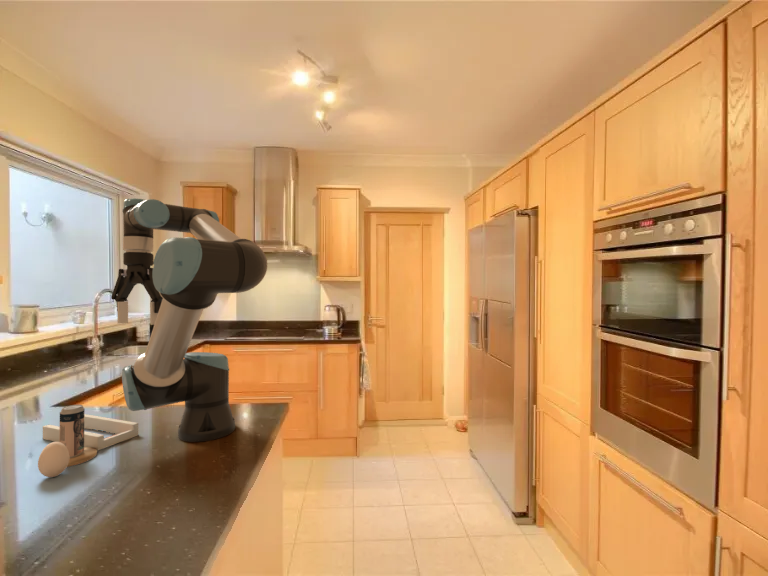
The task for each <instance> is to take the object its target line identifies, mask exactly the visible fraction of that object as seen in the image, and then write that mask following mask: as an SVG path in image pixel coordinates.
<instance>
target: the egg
mask: <svg viewBox="0 0 768 576" xmlns="http://www.w3.org/2000/svg"><path fill="white" fill-rule="evenodd" d="M69 459H70V456H69V451H68V449H67V447H66V446H65V445H64V444H63V443H61V442H55V441H52V442H50V443H48V444H47V445H45V446H44V448H43V449H42V451H41V452H40V454H39V457H38V460H37V467H38V471H39V473H40V474H41V475H42V476H43V477H47V478H55V477H57V476H59V475H60V474H61V475H62V473H63V472H64V471H65V470H66V469H67V468H68V467H67V465H68V463H69Z"/></svg>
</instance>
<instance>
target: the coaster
mask: <svg viewBox="0 0 768 576" xmlns="http://www.w3.org/2000/svg"><path fill="white" fill-rule="evenodd" d="M97 455H98V450H97V449H96V448H92V447H84V452H83V453H82V454H81V455H79V456H77V457H74V458H70V459H69V463H68V465H67V467H66V468H70V467H74V466H77V465H81V464H84V463H86V462H89V461H90V460H93V459H94V458H95V457H96V456H97Z"/></svg>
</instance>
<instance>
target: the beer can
mask: <svg viewBox="0 0 768 576" xmlns="http://www.w3.org/2000/svg"><path fill="white" fill-rule="evenodd" d="M85 410H86V409H85V407H84V406H83V405H82V404H72V405H67V406H64V407H62V408H61V410H60V412H59V427H60V436H59V442H61V443H63V444H64V445H65V446H66V447H67V449H68V451H69V456H70V458H74V457H77V456H79V455H81V454H82V453H83V452H84V431H85V428H84V414H85V412H86V411H85Z"/></svg>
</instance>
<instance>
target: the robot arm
mask: <svg viewBox="0 0 768 576" xmlns="http://www.w3.org/2000/svg"><path fill="white" fill-rule="evenodd" d="M122 215H123V219H122V221H123V237H122V242H123V243H122V246H123V247H122V250H123V251H125V252H123V256H122V257H123V258H122V259H123V261H122V262H123V265H124V266H126V268H119V269H118V276H117V279H116V282H115V285H114V287H113V291H112V294H111V298H110V299H111V300H113V301H115V302H116V311H117V324H119V325H121V324H129V300H128V298H129V296H130V295H131V293H132V291H133V289H134V287H135V286H136V285H139V284H140V285H142V286H143V287H144V289H145V290H146V293H147V294H148V296H149V297H150V299H151V300H150V303H149V305H150V306H149V308H150V310H149V311H150V313H149V315H150V316H149V317H150V319H149V320H150V321H149V322H150V324H149V325H150V326H153V328H152V330H151V334H150V338H149V341H148V343H147V346H146V350H145V352H144V353H142V354H140V356H138V357H137V358H136V360H135V362H134V364H130V365H127V366H124V367H122V371H121V383H122V389H123V395H124V400H125V403H126V407H127V408H128V410H130V411H131V412H137V411H143V410H144V411H147V410H150V409H154V408H158V407H159V408H160V407H163V406H168V405H172V404H173V405H174V404H178V403H182V402H184V410H183V413H182V417H181V421H180V424H179V425H178V427H177V428H178V429H177V438H178V440H180V441H183V442H188V443H190V442H191V443H197V442H199V443H200V442H208V441H212V440H213V441H214V440H217V439H221V438H223V437H225V436H228V435H230V434H231V433H234V431H235V430H236V420H235V417H234V416H233V413H232V409H231V406H230V402H229V399H230V398H229V395H230V393H229V386H230V385H229V383H230V382H229V381H230V377H229V376H230V373H229V372H230V367H229V366H230V365H229V358H228V356H227V355H226V354H224V353H218V352H206V351H205V352H204V351H203V352H200V351H195V352H193V351H191V352H187V351H188V348H189V346H190V343H191V341H192V338H193V336H194V334H195V331H196V329H197V327H198V324H199V321H200V318H202V317H201V316H202V314H203V312H204V310H205V309H208V308H210V307H212V305H213V304H214V303H215V301H216V298H217V296H218V294H237V293H239V294H240V293H245V292H247V291H251V290H252V289H254V288H256V286H258V285H259V284H260V283H261V282H262V281H263V280H264V278H265V276H266V274H267V271H268V258H267V256H266V253H265V252H264V251H263V249H262V248H261V247H260V246H259V245H257V243H255V242H254V241H252V240H250V239H248V238H241V237H240V236H238V234H235V233H234V232H233V231H231V230H230V229H229V228H228V227H226V226H224V224H222V223H220V219H219V216H218V214H217V212H216V211H213V210H209V209H205V208H196V207H188V206H181V205H175V204H168V203H163V202H162V201H160V200H158V199H155V198H152V199H151V198H150V199H144V198H143V199H142V198H135V197H134V198H126V199H125V200H124V201H123V208H122ZM154 230H158V231H168V232H178V233H179V232H180V233H187V234H191V235H193V236H194V237H191V236H186V237H176V236H175V237H170V238H167V239H166V240H164V241H163V242H162V243H161V244H160V245H159V247H158V249H157V251H156V253H155V256H154V254H153V252H154ZM151 266H153V267H151Z"/></svg>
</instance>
